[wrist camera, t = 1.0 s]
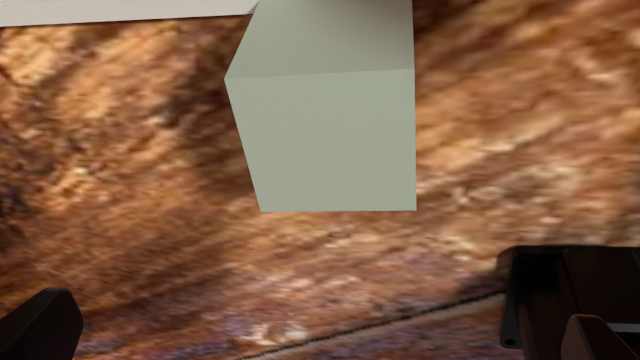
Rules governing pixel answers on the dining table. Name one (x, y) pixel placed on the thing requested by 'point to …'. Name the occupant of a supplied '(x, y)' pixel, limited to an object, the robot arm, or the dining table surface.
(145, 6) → the white base plate
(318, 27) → the sage cube
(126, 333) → the dining table surface
